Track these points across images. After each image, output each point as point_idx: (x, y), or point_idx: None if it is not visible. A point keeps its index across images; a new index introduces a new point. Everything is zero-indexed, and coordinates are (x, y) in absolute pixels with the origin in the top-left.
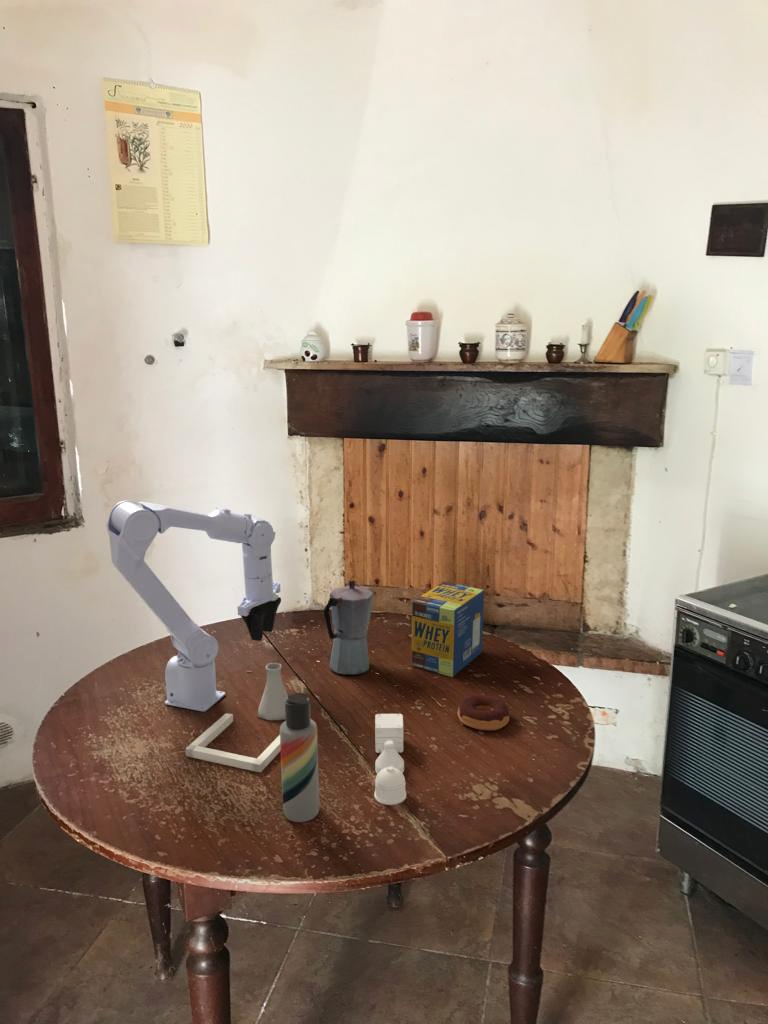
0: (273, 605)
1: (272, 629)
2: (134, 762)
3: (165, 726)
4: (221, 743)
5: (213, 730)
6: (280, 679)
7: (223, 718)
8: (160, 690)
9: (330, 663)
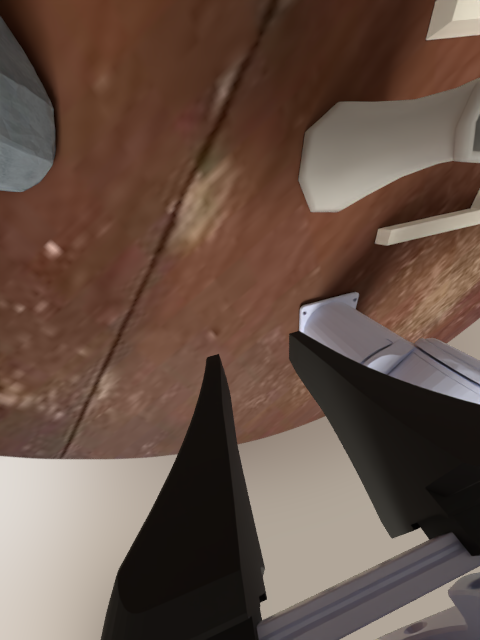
0: (239, 521)
1: (211, 360)
2: (471, 271)
3: (392, 305)
4: (446, 192)
5: (443, 220)
6: (444, 92)
7: (404, 235)
8: None
9: (37, 159)
